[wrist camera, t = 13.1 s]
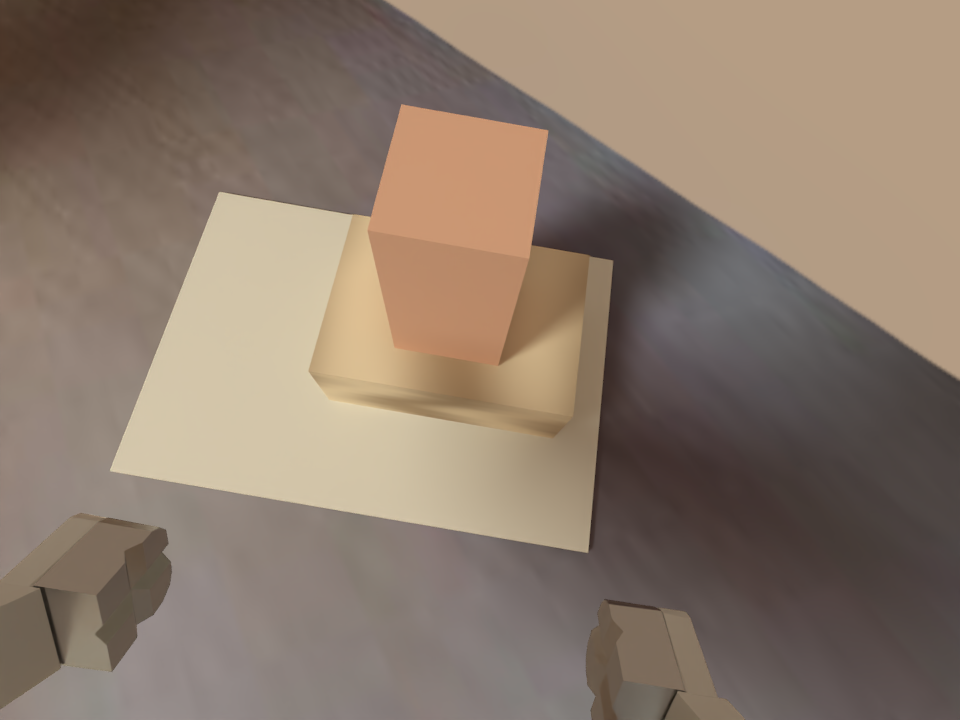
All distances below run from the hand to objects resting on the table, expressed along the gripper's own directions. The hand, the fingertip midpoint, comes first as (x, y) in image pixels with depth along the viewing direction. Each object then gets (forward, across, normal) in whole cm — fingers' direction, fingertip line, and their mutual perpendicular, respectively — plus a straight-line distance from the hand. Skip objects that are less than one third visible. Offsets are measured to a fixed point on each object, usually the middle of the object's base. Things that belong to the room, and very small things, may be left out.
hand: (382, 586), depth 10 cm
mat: (+15, +3, +3) cm, 16 cm away
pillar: (+13, 0, -1) cm, 13 cm away
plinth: (+16, 0, +2) cm, 16 cm away
